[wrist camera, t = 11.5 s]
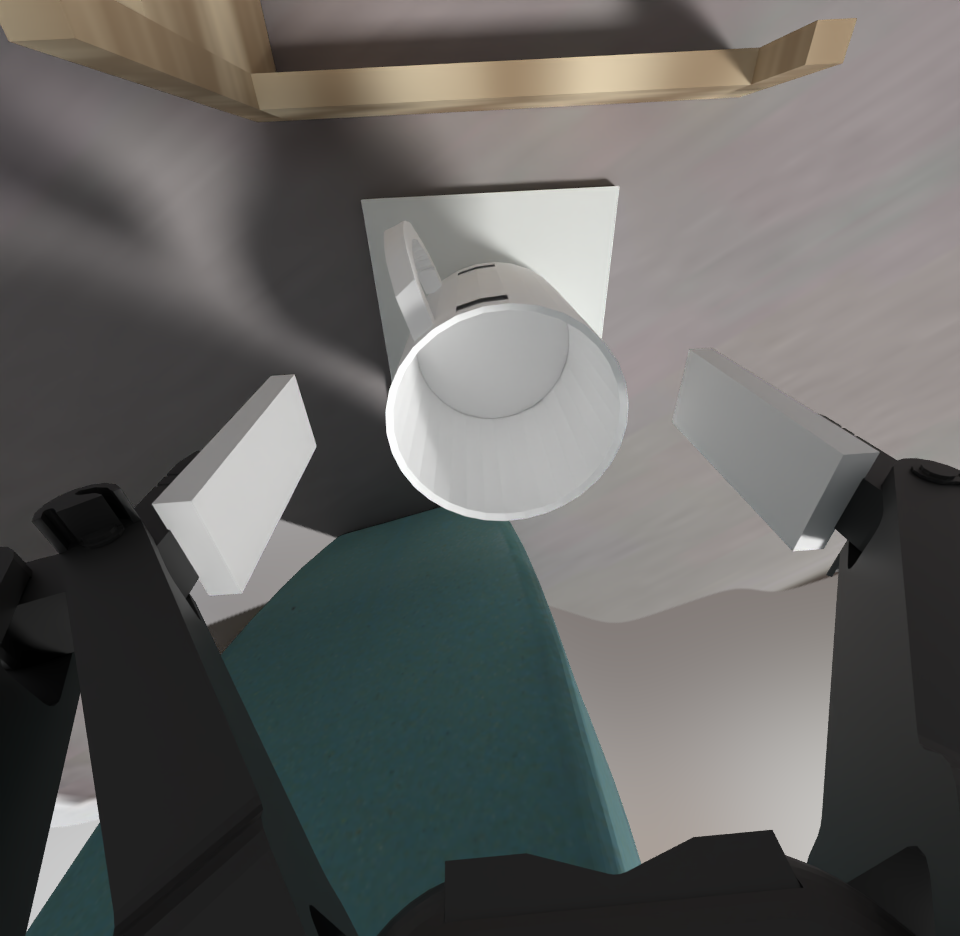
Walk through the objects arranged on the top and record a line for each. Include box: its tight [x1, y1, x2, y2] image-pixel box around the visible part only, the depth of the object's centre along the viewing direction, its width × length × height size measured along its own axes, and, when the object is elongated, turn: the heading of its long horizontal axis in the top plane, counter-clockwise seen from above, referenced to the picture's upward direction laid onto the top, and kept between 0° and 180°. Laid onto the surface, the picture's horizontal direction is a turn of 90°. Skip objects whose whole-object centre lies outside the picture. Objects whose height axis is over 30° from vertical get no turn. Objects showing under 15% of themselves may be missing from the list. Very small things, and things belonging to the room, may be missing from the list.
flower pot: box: [25, 507, 641, 936], centre depth 22 cm, size 20×20×28 cm
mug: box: [384, 221, 629, 521], centre depth 19 cm, size 12×9×9 cm
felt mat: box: [361, 186, 619, 381], centre depth 23 cm, size 12×12×1 cm
